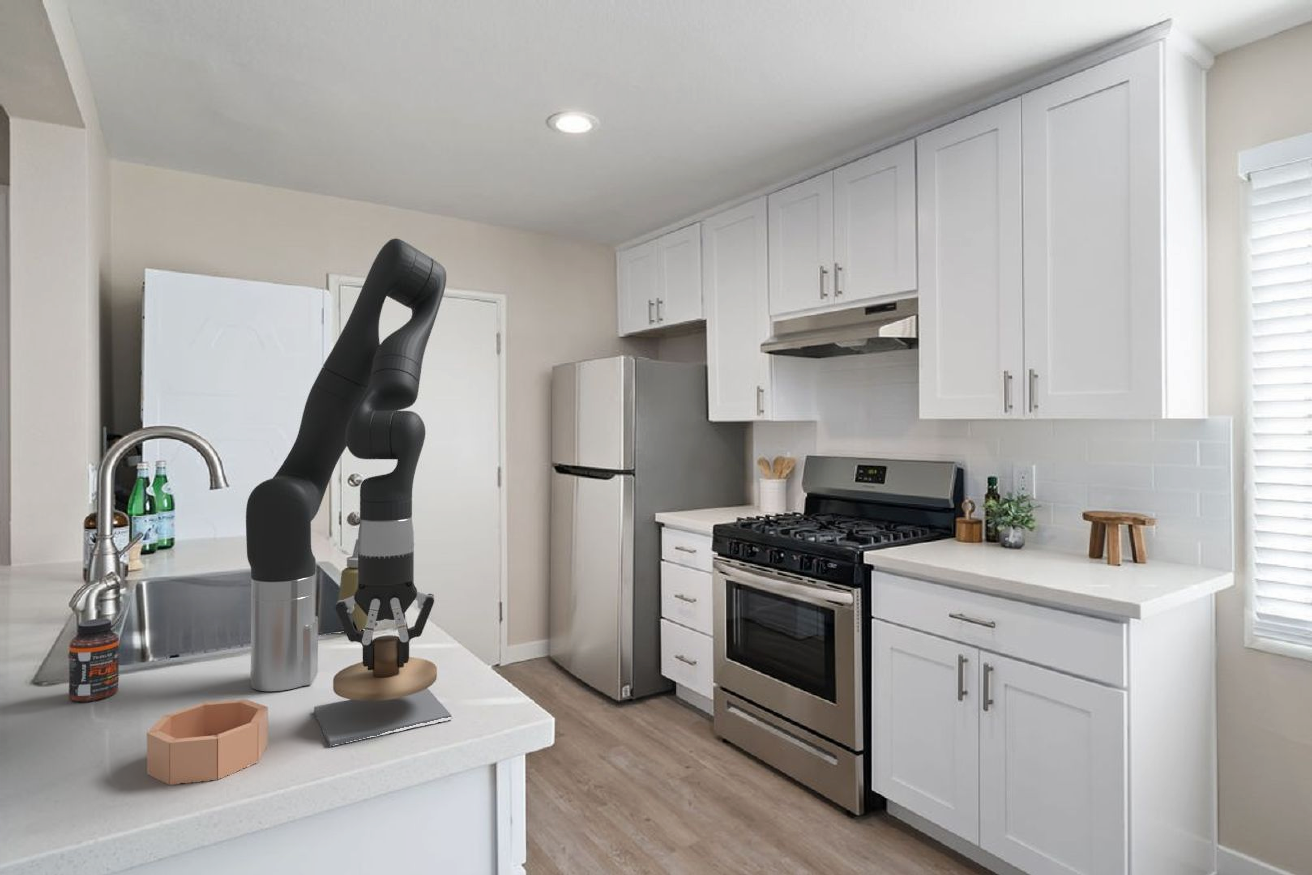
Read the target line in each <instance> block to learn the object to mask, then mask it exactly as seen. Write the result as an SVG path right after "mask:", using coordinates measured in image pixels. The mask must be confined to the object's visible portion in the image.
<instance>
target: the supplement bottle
mask: <svg viewBox="0 0 1312 875" xmlns="http://www.w3.org/2000/svg"><path fill="white" fill-rule="evenodd" d="M112 627H113V626H112V620H111V619H109V618H92V619H87V620H83V621H81V622H79V623H77V634H76V636H75V637H73V638H72V639H71V640H70V642H69V648H68V649H69V653H68V654H69V655H68V656H69V657H68V666H69V668H68V675H69V676H68V696H69V699H70V700H71V701H74V702H79V701H80V702H79V703H88V702H94V701H100V700H103V699H107V698H109V697H111V696H113V695H114V694H116V693H117V692H118V690H119V677H120V675H119V674H120V673H119V668H120V666H119V662H120V658H119V657H120V645H119V644H120V640H119V638H120V637H119V634H117V633H116V632H114V631H113V630H112Z"/></svg>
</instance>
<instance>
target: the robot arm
mask: <svg viewBox="0 0 1312 875" xmlns="http://www.w3.org/2000/svg"><path fill="white" fill-rule="evenodd" d="M446 284H447V272H446V268H445V267H444V266H443V265H442V264H441V263H440V262H438V261H437V260H435V259H433V258H432V257H430V256H429V255H427V254H426V253H424V252H423V251H420V250H419V249H417V248H415V247H414V246H412V245H411V244H409V243H408V242H406V241H404V240H402V239H400V238H396V237H395V238H391V239H390V240H388V241H387V242H386V243H385V244H384V245H383V246H382V247H381V249H380V250H379V251H378V253H377V255H376V257H375V259H374V261H373V262H372V264H371V266H370V269H369V271H368V273H367V276H366V278H365V281H364V283H363V285H362V288H361V289H360V292H359V295H358V297H357V298H356V302H355V304H354V306H353V309H352V310H351V313H350V314H349V318H348V320H347V321H346V323H345V325H344V328H343V330H342V331H341V333H340V335H339V337H338V338H337V340H336V342H335V345H334V346H333V348H332V349H331V351H330V353H329V355H328V356H327V358H326V360H325V361H324V363H323V365H322V367H321V369H320V371H319V372H318V375H317V376H316V378H315V380H314V382H313V384H312V387H311V389H310V390H309V393H308V396H307V398H306V402H305V405H304V408H303V412H302V416H301V422H300V426H299V429H298V433H297V436H296V439H295V440H294V443H293V445H292V448H291V449H290V451H289V453H288V455H287V456H286V458H285V460H284V461H283V463H282V464H281V466H280V467H279V469H278V470H277V472H276V473H275V474H274V475H273V477H271V478H269V479H267V480H264V481H262V482H261V483H259V484H258V485H256V486H255V487H254V488H253V489H252V491H251V492H250V494H249V496H248V499H247V503H246V509H245V510H246V511H245V532H246V534H245V538H246V557H247V561H248V564H249V567H250V576H251V579H250V580H251V581H250V582H251V584H250V587H251V588H250V594H251V595H250V687H251V688H252V689H254V690H256V691H260V692H280V691H286V690H293V689H296V688H300V687H304V686H311V685H312V684H313V682H314V680H315V679H316V676H317V674H318V673H319V670H318V669H319V667H318V666H319V657H318V656H319V617H318V616H317V615H316V583H317V582H316V573H317V571H316V570H317V569H316V568H317V566H316V565H317V564H316V562H317V560H316V557H315V555H314V554H313V550H312V536H311V535H312V527H311V526H312V524H311V523H312V521H313V520H314V518H316V515H317V514H318V512H319V510H320V508H321V505H322V502H323V499H324V497H325V493H326V491H327V488H328V485H329V482H330V480H331V478H332V475H333V473H334V470H335V469H336V466H337V464H338V462H339V460H340V458H341V456H342V455H343V453H344V451H345V450H346V449H347V448H348V451H349V453H350V454H352V455H353V456H354V457H355V458H357V459H360V460H397V461H396V466H395V468H393V470H392V471H391V472H389V473H385V474H380V475H375V476H370V477H367V478H364V480H362V482H361V483H360V487H359V518H360V519H359V528H358V532H357V539H358V544H357V550H358V588H357V591H356V592H355V595H354V596H352V597H349V598H347V599H340V600H339V599H338V600H339V601H337V602H336V604H335V606H334V607H335V608H334V609H335V612H336V614H337V617H338V618H340V619H339V622H340V621H341V622H340V624H341V623H342V625H343V628H344V629H343V628H342V629H343V630H344V632H345V635H346V637H347V639H348V641H349V642H350V643H360V644H361V646H362V662H363V665H364V667H366V666H368V670H373V635H374V631H375V627H376V623H377V622H380V621H384V620H390V621H394V622H395V626H396V629H397V632H398V637H399V668H402V667H404V663H408V660H409V657H410V641H411V640H412V639H414V638H419V637H422V636H421V635H422V634H423V631H424V630H425V627H426V624H427V621H428V620H429V616H430V614H431V611H432V609H433V607H434V604H435V595H434V594H433V593H428V594H425V593H422V592H419V591H418V589H417V587H416V586H415V583H414V581H415V580H414V578H415V576H414V575H415V574H414V573H415V572H414V568H415V566H414V565H415V562H414V560H415V559H414V558H415V556H414V554H415V553H414V552H415V551H414V549H415V548H414V547H415V541H414V540H415V537H414V536H415V535H414V524H413V517H412V516H413V488H414V486H413V485H414V478H415V474H416V470H417V466H418V462H419V459H420V456H421V453H422V450H423V446H424V442H425V440H426V425H425V422H424V421H423V419H422V418H421V416H420V415H419V414H418V413H417V412H415V411H411V410H405V409H407V408H410V407H412V406H413V405H414V404H415V403H416V401H417V399H418V395H419V388H420V381H421V374H422V368H423V367H422V366H423V360H424V355H425V353H426V352H425V351H426V348H427V344H428V341H429V339H430V336H431V333H432V331H433V327H434V325H435V322H436V319H437V315H438V312H439V310H440V306H441V303H442V299H443V297H444V293H445V289H446V286H447V285H446ZM387 297H388V298H390V299H392V300H393V301H395V302H397V303H399V304H401V305H402V306H404V307H406V308H408V309H410V310H411V318H410V319H409V320H408V321H407V322H406V323H405V324H404V325H402V326H401V327H400V328H398V329H397V330H395V331H394V332H392V333H391V334H389V335H388V336H386V337H385V338H384V339H383V340H382V341H381V342H380V332H379V331H380V318H381V314H382V309H383V306H384V303H385V300H386V298H387ZM415 600H416V602H417V608H418V609H419V610H420V611H419V613H418V616H417V619H416V621H415V623H414V626H411V627H409V626H408V621H407V617H406V612H407V610H408V609H409V608H410V607H411V605H412V604H413V602H414V601H415ZM355 603H357V604H358V606H359V607H360V608H361V609H362V610H363V612H364V613H365V614H366V615H367V616H368V617H367V621H366V626H365V630H363V631H360V630H358V628H357V625H356V623H355V621H354V618H353V616H352V614H351V613H352V612H353V610H354V604H355ZM342 625H341V626H342Z"/></svg>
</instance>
